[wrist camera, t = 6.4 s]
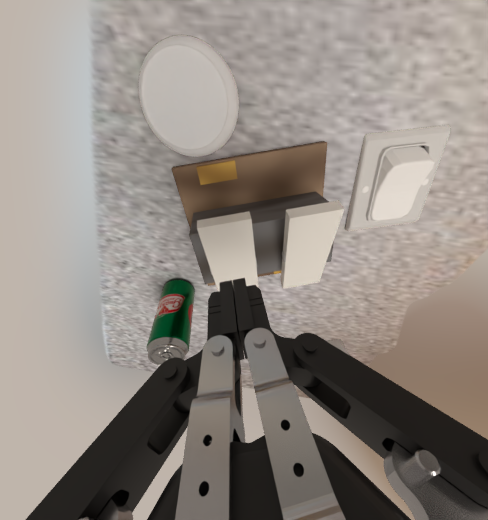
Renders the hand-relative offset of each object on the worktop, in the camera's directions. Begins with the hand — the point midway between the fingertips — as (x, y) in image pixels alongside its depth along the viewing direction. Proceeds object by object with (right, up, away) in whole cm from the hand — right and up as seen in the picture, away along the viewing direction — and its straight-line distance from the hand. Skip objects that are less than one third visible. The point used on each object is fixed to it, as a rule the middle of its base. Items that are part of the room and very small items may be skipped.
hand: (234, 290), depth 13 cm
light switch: (+21, +13, +17) cm, 30 cm away
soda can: (-10, -3, +23) cm, 25 cm away
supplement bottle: (-4, +18, +10) cm, 21 cm away
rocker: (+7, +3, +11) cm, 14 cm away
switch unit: (+2, +7, +18) cm, 19 cm away
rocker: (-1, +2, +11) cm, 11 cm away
